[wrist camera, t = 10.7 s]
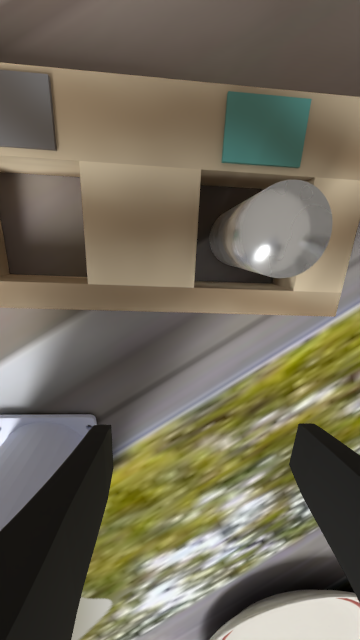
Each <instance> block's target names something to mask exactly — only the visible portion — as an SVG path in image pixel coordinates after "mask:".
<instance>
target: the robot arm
mask: <svg viewBox="0 0 360 640" xmlns="http://www.w3.org/2000/svg"><path fill="white" fill-rule="evenodd" d="M88 425H91V426H92V427H89V426H88ZM289 465H290V468H291V470H292V473H293V475H294V478H295V480H296V482H297V485H298V487H299V489H300V492H301V494H302V496H303V498H304V500H305V502H306V503H307V505H308V507H309V509H310V511H311V513H312V515H313V516H314V518H315V520H316V522H317V524H318V526H319V527H320V529H321V531H322V533H323V535H324V536H325V538H326V540H327V542H328V544H329V546H330V547H331V549H332V551H333V553H334V555H335V556H336V558H337V560H338V562H339V564H340V565H341V567H342V569H343V571H344V573H345V575H346V577H347V579H348V581H349V582H350V584H351V586H352V588H353V590H354V592H355V594H356V596H357V598H358V601H359V603H360V455H358V454H357V453H355V452H354V451H353V450H351V449H350V448H348V447H347V446H346V445H344V444H343V443H341V442H340V441H339V440H337V439H336V438H334V437H333V436H332V435H330V434H329V433H327V432H326V431H324V430H323V429H321V428H320V427H318V426H317V425H315V424H299V425H298V429H297V433H296V438H295V442H294V446H293V450H292V455H291V459H290V463H289ZM112 472H113V453H112V434H111V425H97V423H96V417H95V416H93V415H90V414H55V415H0V640H71V637H72V633H73V628H74V624H75V619H76V614H77V609H78V606H79V601H80V598H81V594H82V590H83V586H84V582H85V579H86V575H87V572H88V568H89V564H90V561H91V557H92V554H93V550H94V547H95V543H96V540H97V536H98V532H99V529H100V525H101V522H102V518H103V514H104V511H105V507H106V503H107V500H108V494H109V489H110V484H111V478H112Z"/></svg>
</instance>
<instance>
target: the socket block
mask: <svg viewBox="0 0 360 640" xmlns="http://www.w3.org/2000/svg"><path fill="white" fill-rule="evenodd" d="M0 172H10V173H25V174H40V175H56V176H71V177H80V181H81V195H82V209H83V223H84V237H85V250H86V264H87V277H74V276H46V275H18V274H10V272H9V266H8V260H7V254H6V248H5V242H4V236H3V231H2V225H1V219H0V308H35V309H72V310H110V311H148V312H186V313H224V314H262V315H300V316H336V312H337V308H338V304H339V300H340V296H341V292H342V288H343V284H344V280H345V276H346V272H347V268H348V264H349V260H350V256H351V252H352V248H353V244H354V240H355V236H356V232H357V228H358V224H359V220H360V97H354V96H344V95H334V94H323V93H313V92H302V91H292V90H282V89H271V88H261V87H250V86H240V85H229V84H219V83H209V82H198V81H188V80H177V79H167V78H157V77H146V76H136V75H125V74H115V73H105V72H94V71H84V70H73V69H63V68H53V67H42V66H32V65H21V64H11V63H0ZM284 180H302V181H306V182H308V183H310V184H312V185H314V186H315V187H317V188H318V189H319V190H320V191H321V192H322V193H323V194H324V196H325V197H326V199H327V201H328V203H329V205H330V208H331V212H332V220H333V222H332V233H331V237H330V240H329V243H328V245H327V247H326V249H325V251H324V253H323V254H322V256H321V257H320V258H319V260H318V261H317V262H316V263H315V264H314V265H313V266H312V267H310V268H309V269H308V270H306V271H304V272H303V273H301V274H299V275H296V276H293V277H289V278H274V277H273V279H272V284H268V283H241V282H213V281H194V279H195V263H196V246H197V230H198V214H199V198H200V185H210V186H225V187H241V188H256V189H266V188H268V187H269V186H271V185H273V184H275V183H278V182H281V181H284Z"/></svg>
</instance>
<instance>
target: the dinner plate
mask: <svg viewBox="0 0 360 640" xmlns="http://www.w3.org/2000/svg"><path fill="white" fill-rule="evenodd" d="M209 640H360V603H359V601H358V598H357V596H356V594H355V593H352V592H346V591H337V590H296V591H290V592H284V593H280V594H276V595H273V596H270V597H267V598H265V599H262V600H260V601H258V602H256V603H254V604H252V605H250V606H249V607H247V608H246V609H244V610H243V611H241V612H240V613H239V614H238V615H236V616H235V617H233V618H232V619H231V620H229V621H228V622H227V623H226V624H224V625H223V626H222V627H221V628H220V629H219V630H218V631H217V632H216V633H215V634H214V635H213V636H212V637H211V638H210V639H209Z"/></svg>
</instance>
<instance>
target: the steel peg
mask: <svg viewBox="0 0 360 640" xmlns="http://www.w3.org/2000/svg"><path fill="white" fill-rule="evenodd" d="M332 222H333V220H332V212H331V208H330V205H329V203H328V201H327V199H326V197H325V196H324V194H323V193H322V192H321V191H320V190H319V189H318V188H317V187H315V186H314V185H312V184H310V183H308V182H306V181H302V180H284V181H281V182H278V183H275V184H273V185H271V186H269V187H268V188H266V189H264V190H262V191H261V192H259V193H257V194H256V195H254V196H252V197H250V198H249V199H247V200H245V201H243V202H242V203H240V204H238V205H237V206H235V207H233V208H231V209H230V210H228V211H226V212H225V213H223V214H222V215H220V216H219V217H218V218H217V219H216V221H215V222H214V224H213V226H212V228H211V231H210V237H209V241H210V247H211V250H212V252H213V254H214V255H215V257H216V258H217V259H218V260H219V261H221V262H223V263H225V264H227V265H231V266H234V267H238V268H241V269H245V270H248V271H252V272H255V273H259V274H262V275H266V276H269V277H274V278H289V277H293V276H296V275H299V274H301V273H303V272H304V271H306V270H308V269H309V268H310V267H312V266H313V265H314V264H315V263H316V262H317V261H318V260H319V258H320V257H321V256H322V254H323V253H324V251H325V249H326V247H327V245H328V243H329V240H330V237H331V233H332Z"/></svg>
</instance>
